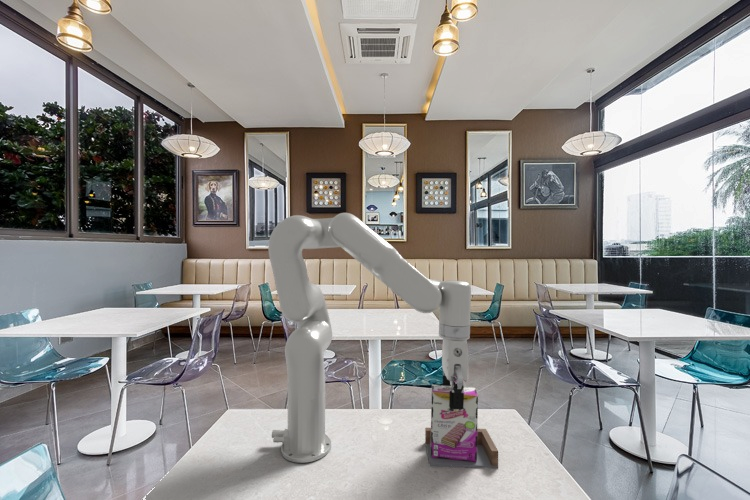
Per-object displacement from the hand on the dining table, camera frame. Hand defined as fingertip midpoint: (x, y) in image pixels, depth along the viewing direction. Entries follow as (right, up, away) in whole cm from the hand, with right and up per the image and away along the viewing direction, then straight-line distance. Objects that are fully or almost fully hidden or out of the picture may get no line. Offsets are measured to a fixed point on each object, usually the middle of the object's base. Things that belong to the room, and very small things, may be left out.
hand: (452, 399), depth 85 cm
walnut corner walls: (+2, -14, +1) cm, 14 cm away
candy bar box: (0, -14, 0) cm, 14 cm away
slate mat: (+2, -14, +1) cm, 14 cm away
